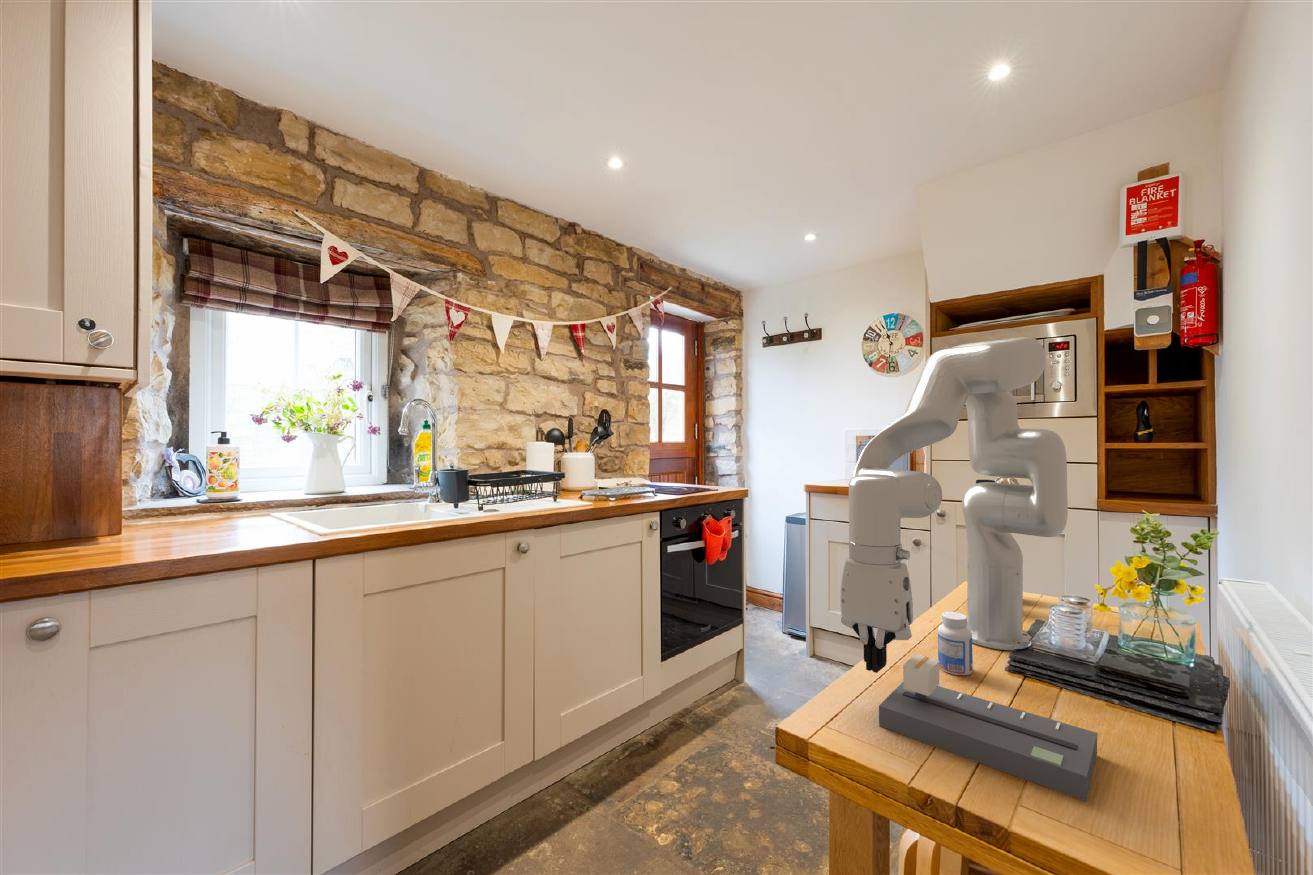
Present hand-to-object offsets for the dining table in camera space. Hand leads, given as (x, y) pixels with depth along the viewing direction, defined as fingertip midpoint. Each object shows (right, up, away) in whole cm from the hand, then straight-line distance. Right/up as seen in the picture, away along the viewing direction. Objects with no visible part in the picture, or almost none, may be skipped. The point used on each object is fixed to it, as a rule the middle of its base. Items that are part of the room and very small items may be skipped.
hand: (875, 668), depth 86 cm
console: (+11, -6, -10) cm, 16 cm away
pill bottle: (+19, -5, +11) cm, 23 cm away
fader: (+5, -2, -5) cm, 7 cm away
